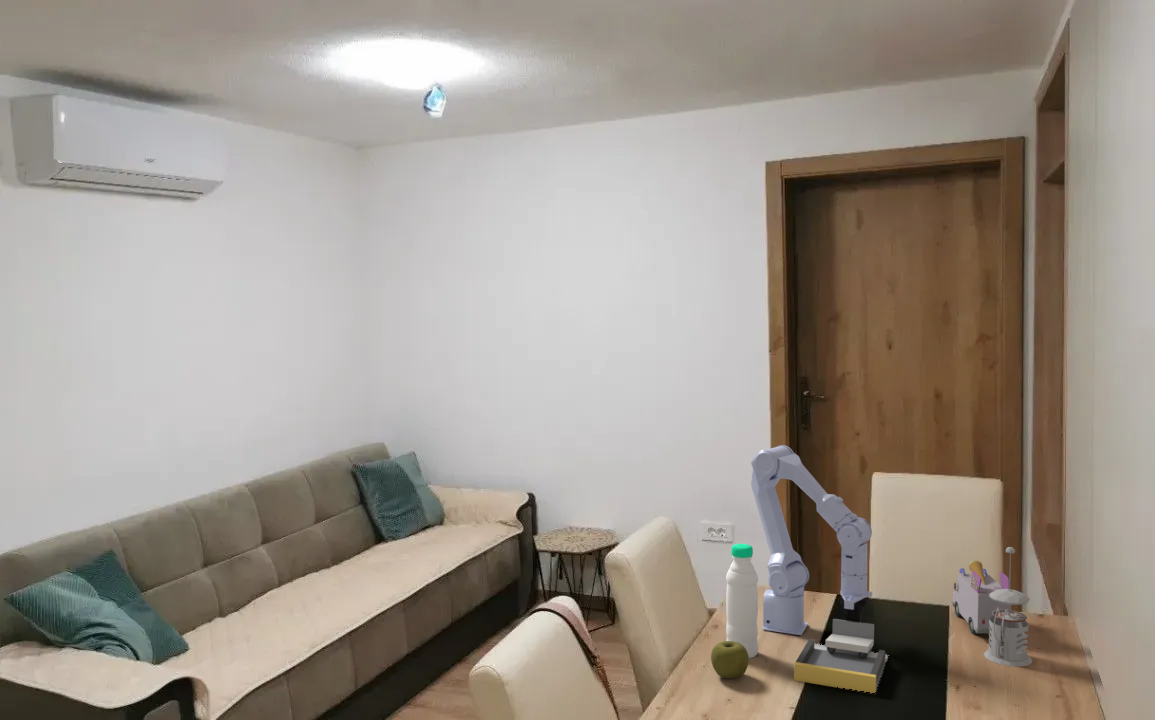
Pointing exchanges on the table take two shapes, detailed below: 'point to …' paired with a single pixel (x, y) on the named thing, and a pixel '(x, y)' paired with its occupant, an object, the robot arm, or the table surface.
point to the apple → (729, 659)
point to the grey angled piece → (851, 637)
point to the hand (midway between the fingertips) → (853, 630)
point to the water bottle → (742, 599)
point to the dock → (839, 668)
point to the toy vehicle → (977, 597)
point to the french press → (1008, 628)
